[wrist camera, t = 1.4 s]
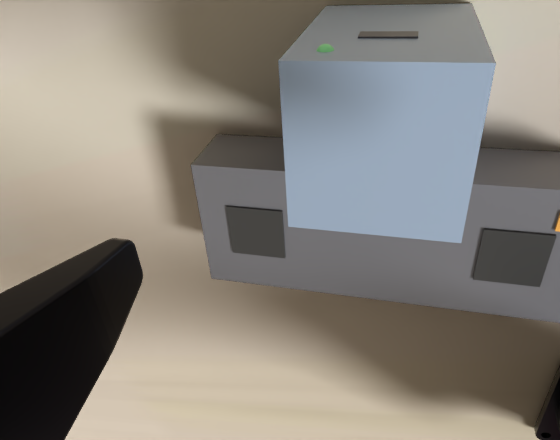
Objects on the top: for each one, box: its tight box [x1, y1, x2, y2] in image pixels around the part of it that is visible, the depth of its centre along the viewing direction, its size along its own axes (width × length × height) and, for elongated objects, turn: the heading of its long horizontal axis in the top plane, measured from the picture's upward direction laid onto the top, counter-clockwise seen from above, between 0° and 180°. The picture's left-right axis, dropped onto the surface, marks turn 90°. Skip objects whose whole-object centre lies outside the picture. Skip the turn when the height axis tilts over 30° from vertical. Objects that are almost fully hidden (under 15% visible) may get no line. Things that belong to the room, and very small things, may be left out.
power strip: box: [191, 134, 560, 323], centre depth 19 cm, size 6×22×3 cm, turn 93°
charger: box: [278, 3, 496, 243], centre depth 16 cm, size 8×5×7 cm, turn 4°
